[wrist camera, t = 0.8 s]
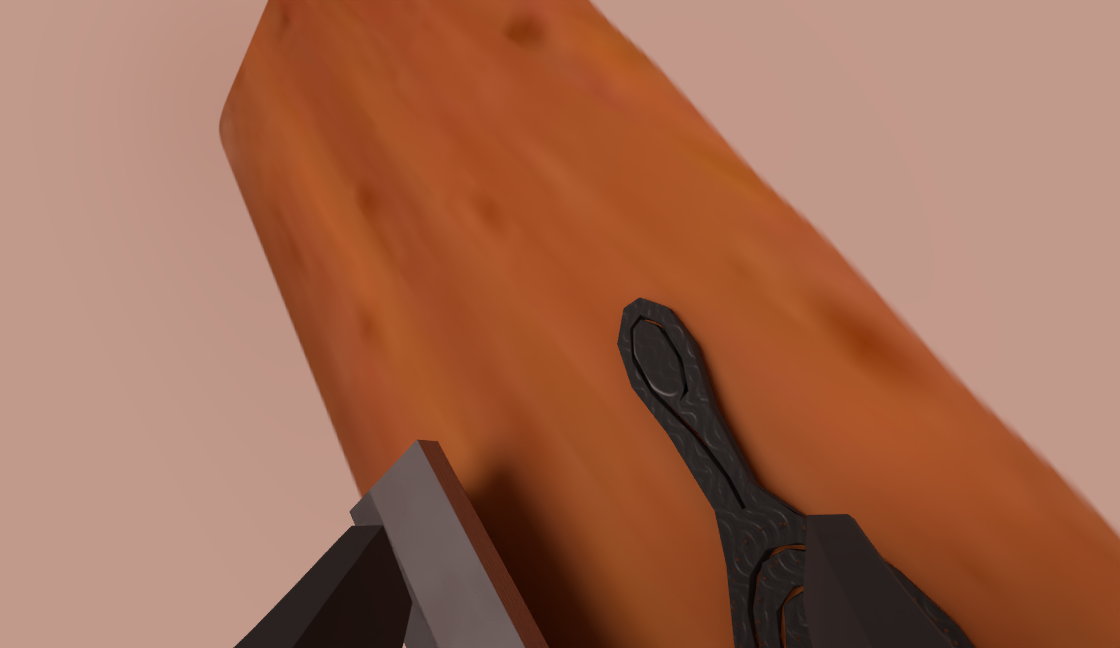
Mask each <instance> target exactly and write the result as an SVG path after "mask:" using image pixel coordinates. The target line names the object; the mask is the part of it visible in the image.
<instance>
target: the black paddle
mask: <svg viewBox="0 0 1120 648" xmlns="http://www.w3.org/2000/svg"><path fill="white" fill-rule="evenodd" d="M644 319H647V320H653V321H655V322H657V323H659V324H661V325H662V326H663V327H664V329H665V330H664V329H662V328H661V327H659V326H658V325H655V324H652V323H650V322H647V321H644ZM617 345H618V348H619V350H620V353H621V356H622V359H623V362H624V365H625V368H626V371H627V374H628V377H629V380H630V383H631V386H632V388H633V389H634V391H635V392H636V393H637V395H638V396H639V397H640V398H641V400H642V401H643V402H644V404H645V405H646V406H647V408H648V409H649V410H650V411H651V413H652V414H653V415H654V417H655V418H656V419H657V421H658V422H659V423H660V425H661V426H662V427H663V428H664V430H665V431H666V432H667V434H668V435H669V437H670V438H671V440H672V442H673V443H674V445H675V447H676V448H677V450H678V452H679V453H680V455H681V456H682V458H683V460H684V461H685V463H686V465H687V466H688V468H689V470H690V471H691V473H692V475H693V476H694V478H695V479H696V481H697V483H698V484H699V486H700V488H701V489H702V491H703V493H704V494H705V496H706V497H707V499H708V501H709V502H710V504H711V506H712V507H713V509H714V511H715V514H716V519H717V524H718V528H719V533H720V538H721V542H722V547H723V552H724V556H725V561H726V566H727V576H728V586H729V596H730V605H731V615H732V625H733V635H734V645H735V648H759V646H758V642H757V639H756V635H755V633H756V632H755V625H754V618H755V623H756V627H757V631H758V636H759V640H760V644H761V648H784V646H783V643H782V640H781V636H780V635H781V615H782V607H783V606H782V605H784V604H783V603H785V600H786V598H787V596H788V595H789V593H790V591H791V590H793V588H794V589H795V588H797V587H801V586H804V572H805V553H806V550H798V549H786V550H784V551H782V552H780V553H777V554H775V555H773V556H772V557H771V558H769V559H768V557H769V556H770V554H771V553H772V551H773V550H774V548H775V547H779V546H783V545H806V534H807V517H806V516H805V515H803V514H802V513H800V512H799V511H797V510H796V509H794V508H793V507H791V506H790V505H788V504H787V503H785V502H784V501H782V500H781V499H779V498H778V497H776V496H775V495H773V494H772V493H770V492H769V491H767V490H766V489H764V488H763V487H761V486H760V485H758V483H757V481H756V479H755V477H754V475H753V474H752V472H751V470H750V468H749V466H748V464H747V462H746V460H745V458H744V457H743V455H742V453H741V451H740V449H739V447H738V445H737V443H736V441H735V440H734V438H733V436H732V434H731V432H730V430H729V428H728V426H727V424H726V423H725V421H724V419H723V417H722V415H721V413H720V411H719V409H718V406H717V403H716V400H715V397H714V394H713V391H712V387H711V384H710V381H709V378H708V375H707V372H706V369H705V366H704V363H703V360H702V357H701V353H700V350H699V347H698V344H697V343H696V341H695V340H694V339H693V337H692V336H691V335H690V333H689V332H688V331H687V329H686V328H685V327H684V326H683V324H682V323H681V322H680V320H679V319H678V317H677V316H676V315H675V314H674V313H673V311H671V310H670V309H669V308H667V307H665V306H662V305H660V304H657V303H654V302H651V301H648V300H645V299H643V298H638V299H637V300H635V301H634V302H632V303H631V304H629V305H628V306H626V307H625V308H624V310H623V315H622V321H621V326H620V332H619V337H618V343H617ZM665 401H666V402H667V403H668V404H669V405H670V406H671V407H672V408H673V409H674V410H675V411H676V412H677V413H678V414H679V415H680V416H681V417H682V418H683V419H684V420H685V421H686V422H687V423H688V424H689V425H690V426H691V427H692V428H693V429H694V430H695V431H696V432H697V433H698V434H699V435H700V437H701V438H702V439H703V441H704V442H705V443H706V445H707V446H708V447H709V449H710V450H711V451H710V450H709V449H708V448H707V447H706V446H705V445H704V443H703V442H702V441H701V440H700V439H699V438H698V437H697V436H696V435H695V434H694V433H693V432H692V430H691V429H690V428H689V427H688V426H687V425H686V424H685V423H684V422H683V421H682V420H681V419H680V418H679V417H678V415H677V414H676V413H675V412H674V411H673V410H672V409H671V408H670V407H669V406H668V405H667V403H666V402H665ZM711 452H712V453H713V454H714V455H713V454H712V453H711ZM767 559H768V560H767ZM886 564H887V565H888V566H889V568H890V569H891V570H892V572H893V573H894V574H895V575H896V577H897V578H898V579H899V581H900V582H901V583H902V584H903V586H904V587H905V588H906V590H907V591H908V592H909V593H910V595H911V596H912V597H913V598H914V600H915V601H916V602H917V603H918V604H919V606H920V607H921V608H922V609H923V611H924V612H925V613H926V614H927V615H928V617H929V618H930V619H931V620H932V621H933V622H934V624H935V625H936V626H937V627H938V628H939V630H940V631H941V632H942V633H943V634H944V635H945V637H946V638H947V639H948V640H949V641H950V643H951V644H952V645H953V646H954V647H955V648H975V647H974V645H973V644H972V643H971V641H970V640H969V639H968V638H967V636H966V635H965V634H964V632H963V631H962V630H961V629H960V627H959V626H958V625H957V624H956V623H955V622H953V621H952V620H951V619H950V618H949V617H948V616H947V615H946V614H945V613H944V612H943V611H942V610H941V609H940V608H939V607H938V606H937V605H936V604H934V603H933V602H932V601H931V600H930V599H929V598H928V597H927V596H926V595H925V594H924V593H923V592H922V591H921V590H920V589H919V588H918V587H916V586H915V585H914V584H913V583H912V582H911V581H910V580H909V579H908V578H907V577H906V576H905V575H904V574H903V573H902V572H901V571H899V570H898V569H896V568H895V567H893V566H891V565H890V564H888V563H887V562H886ZM760 570H761V573H760V578H759V582H758V588H757V593H756V598H755V591H756V580H757V574H758V573H759V571H760ZM754 598H755V603H754ZM753 605H754V608H753ZM784 615H785V631H786V647H787V648H812V644H811V639H810V634H809V629H808V624H807V619H806V614H805V609H804V604H803V592H801V593H799V594H797V595H795V596H794V597H793V598H792V599H790V600H789V601H788V602H787V603H786V604H785V605H784Z"/></svg>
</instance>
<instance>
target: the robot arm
mask: <svg viewBox="0 0 1120 648" xmlns="http://www.w3.org/2000/svg"><path fill="white" fill-rule="evenodd" d="M412 603H413V602H412V599H411V596H410V594H409V591H408V589H407V586H406V583H405V581H404V578H403V576H402V573H401V570H400V568H399V565H398V562H397V560H396V557H395V555H394V552H393V549H392V547H391V544H390V541H389V539H388V536H387V534H386V531H385V528H384V526H383V525H367V526H351V527H350V528H349V529H348V530H347V531H346V532H345V533H344V534H343V535H342V536H341V537H340V538H339V539H338V540H337V541H336V542H335V543H334V544H333V546H332V547H331V548H330V549H329V550H328V551H327V552H326V553H325V554H324V555H323V556H322V557H321V558H320V559H319V560H318V561H317V563H316V564H315V565H314V566H313V567H312V568H311V569H310V570H309V571H308V572H307V573H306V574H305V575H304V576H303V577H302V578H301V580H300V581H299V582H298V583H297V584H296V585H295V586H294V587H293V588H292V589H291V590H290V591H289V592H288V593H287V594H286V595H285V596H284V597H283V598H282V600H280V602H279V603H278V604H277V605H276V606H275V607H274V608H273V609H272V610H271V611H270V612H269V613H268V614H267V615H266V616H265V617H264V618H263V619H262V620H261V621H260V622H259V623H258V624H257V625H256V627H254V628H253V629H252V630H251V631H250V632H249V633H248V634H247V635H246V636H245V637H244V638H243V639H242V640H241V641H240V642H239V643H238V644H237V645H236V646H235V647H234V648H402V647H403V643H404V639H405V635H406V630H407V626H408V621H409V616H410V612H411V607H412ZM803 604H804V609H805V614H806V619H807V624H808V629H809V634H810V639H811V644H812V648H955V647H954V646H953V645H952V644H951V643H950V641H949V640H948V639H947V638H946V637H945V635H944V634H943V633H942V632H941V631H940V630H939V628H938V627H937V626H936V625H935V624H934V622H933V621H932V620H931V619H930V618H929V617H928V615H927V614H926V613H925V612H924V611H923V609H922V608H921V607H920V606H919V604H918V603H917V602H916V601H915V600H914V598H913V597H912V596H911V595H910V593H909V592H908V591H907V590H906V588H905V587H904V586H903V584H902V583H901V582H900V581H899V579H898V578H897V577H896V575H895V574H894V573H893V572H892V570H891V569H890V568H889V566H888V565H887V564H886V562H885V561H884V560H883V558H882V557H881V556H880V554H879V553H878V552H877V550H876V549H875V548H874V546H873V545H872V543H871V542H870V541H869V539H868V538H867V536H866V535H865V534H864V532H863V531H862V529H861V528H860V526H859V525H858V524H857V522H856V521H855V519H853V518H852V517H851V516H850V515H848V514H836V515H807V534H806V553H805V572H804V591H803Z"/></svg>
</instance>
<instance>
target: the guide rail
mask: <svg viewBox="0 0 1120 648" xmlns="http://www.w3.org/2000/svg"><path fill="white" fill-rule="evenodd" d="M350 514H351V516H352V519H353V521H354V524H355V526H367V525H383V526H384V528H385V531H386V534H387V536H388V539H389V541H390V544H391V547H392V549H393V552H394V555H395V557H396V560H397V562H398V565H399V568H400V570H401V573H402V576H403V578H404V581H405V583H406V586H407V589H408V591H409V594H410V596H411V599H412V602H413V603H412V607H411V612H410V616H409V621H408V626H407V630H406V635H405V639H404V643H405V646H406V648H549V647H548V645H547V643H546V641H545V639H544V637H543V636H542V634H541V632H540V630H539V628H538V626H537V624H536V623H535V621H534V619H533V617H532V615H531V613H530V611H529V610H528V608H527V606H526V604H525V602H524V600H523V598H522V597H521V595H520V593H519V591H518V589H517V587H516V586H515V584H514V582H513V580H512V578H511V576H510V574H509V573H508V571H507V569H506V567H505V565H504V563H503V561H502V560H501V558H500V556H499V554H498V552H497V550H496V548H495V547H494V545H493V543H492V541H491V539H490V537H489V536H488V534H487V532H486V530H485V528H484V526H483V524H482V523H481V521H480V519H479V517H478V515H477V513H476V511H475V510H474V508H473V506H472V504H471V502H470V500H469V498H468V497H467V495H466V493H465V491H464V489H463V487H462V485H461V484H460V482H459V480H458V478H457V476H456V474H455V473H454V471H453V469H452V467H451V465H450V463H449V461H448V460H447V458H446V456H445V454H444V452H443V450H442V448H441V447H440V445H439V443H438V441H427V440H416V441H415V442H414V443H413V444H412V446H411V447H410V448H409V449H408V450H407V451H406V452H405V453H404V454H403V455H402V456H401V457H400V458H399V459H398V460H397V462H396V463H395V464H394V465H393V466H392V467H391V468H390V469H389V470H388V471H387V472H386V473H385V474H384V475H383V476H382V478H381V479H380V480H379V481H378V482H377V483H376V484H375V485H374V486H373V487H372V488H371V489H370V490H369V491H368V492H367V494H366V495H365V496H364V497H363V498H362V499H361V500H360V501H359V502H358V503H357V504H356V505H355V506H354V507H353V508H352V509H351V511H350Z"/></svg>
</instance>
